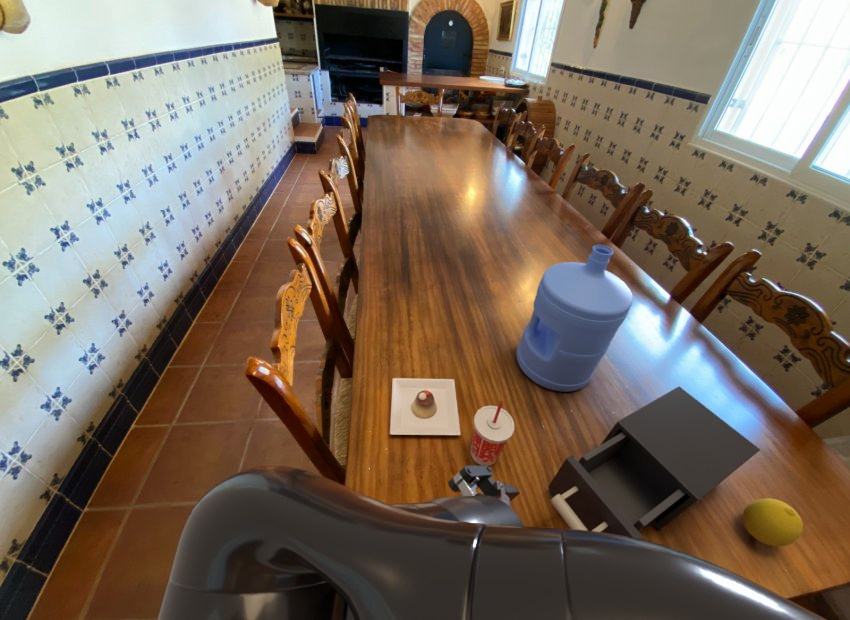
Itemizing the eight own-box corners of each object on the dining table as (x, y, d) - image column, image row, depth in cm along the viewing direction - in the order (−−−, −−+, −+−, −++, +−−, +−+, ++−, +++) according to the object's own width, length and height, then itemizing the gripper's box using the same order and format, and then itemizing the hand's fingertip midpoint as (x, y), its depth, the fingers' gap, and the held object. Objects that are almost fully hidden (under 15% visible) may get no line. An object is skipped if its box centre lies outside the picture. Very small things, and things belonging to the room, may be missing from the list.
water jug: (587, 348, 81) (645, 237, 63) (592, 403, 69) (665, 286, 51) (518, 331, 83) (554, 220, 65) (511, 381, 72) (553, 263, 54)
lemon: (722, 514, 55) (756, 490, 49) (753, 510, 55) (791, 487, 50) (751, 556, 50) (792, 535, 45) (784, 552, 51) (829, 531, 46)
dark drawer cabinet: (658, 530, 52) (699, 500, 45) (591, 456, 60) (617, 421, 54) (717, 482, 58) (760, 449, 52) (649, 421, 67) (679, 385, 60)
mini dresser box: (584, 583, 46) (611, 562, 40) (526, 500, 53) (542, 472, 48) (672, 512, 53) (706, 486, 48) (611, 448, 61) (633, 418, 55)
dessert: (453, 382, 70) (456, 366, 67) (459, 438, 61) (463, 422, 58) (392, 381, 70) (392, 365, 67) (389, 437, 60) (389, 422, 57)
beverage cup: (509, 452, 60) (530, 402, 51) (488, 478, 56) (507, 430, 47) (479, 429, 63) (495, 378, 54) (458, 452, 59) (471, 402, 50)
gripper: (570, 639, 21) (618, 584, 33) (447, 440, 31) (519, 453, 42) (481, 706, 22) (558, 630, 34) (390, 495, 32) (475, 492, 44)
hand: (537, 532), depth 38 cm, fingers open, 8 cm apart
